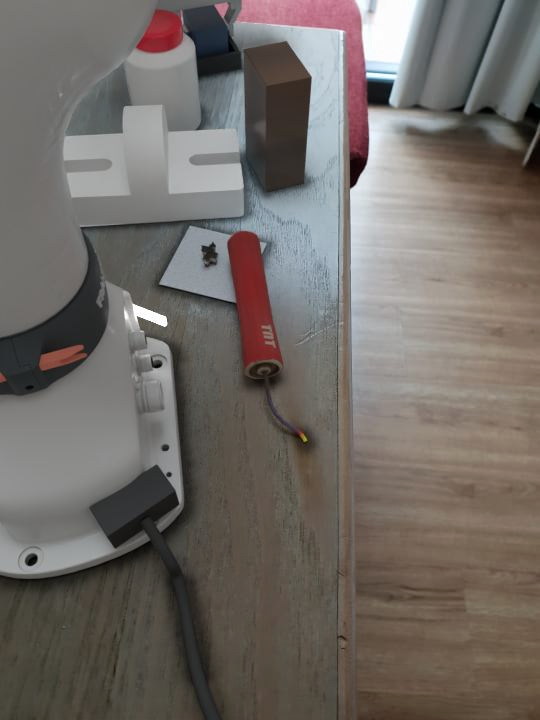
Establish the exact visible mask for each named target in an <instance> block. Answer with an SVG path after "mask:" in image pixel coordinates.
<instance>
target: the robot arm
mask: <svg viewBox="0 0 540 720" xmlns="http://www.w3.org/2000/svg"><path fill="white" fill-rule="evenodd" d="M242 1H243V0H0V576H2V577H7V578H13V579H23V580H30V579H31V580H35V579H46V578H53V577H59V576H63V575H68V574H71V573H76V572H79V571H82V570H85V569H88V568H91V567H96V566H98V565H101V564H103V563H106V562H108V561H111V560H113V559H117V558H118V557H121V556H123V555H125V554H127V553H131V552H132V551H134V550H135V549H138V548H139V547H141V546H143V545H144V544H146V543H148V542H151V543H152V546H153V547H154V549H155V550H156V552H157V554H158V556H159V557H160V559H161V561H162V562H163V565H164V566H165V568H166V570H167V571H168V574H169V577H170V580H171V583H172V587H173V590H174V594H175V599H176V603H177V606H178V607H177V608H178V611H179V617H180V623H181V624H180V625H181V632H182V638H183V644H184V649H185V654H186V660H187V666H188V669H189V673H190V677H191V681H192V684H193V688H194V691H195V694H196V697H197V699H198V702H199V705H200V708H201V710H202V713H203V715H204V718H205V720H223V719H222V717H221V715H220V713H219V711H218V708H217V705H216V703H215V701H214V698H213V695H212V692H211V690H210V686H209V684H208V681H207V678H206V674H205V670H204V667H203V664H202V660H201V654H200V650H199V646H198V640H197V634H196V628H195V624H194V619H193V614H192V607H191V602H190V597H189V591H188V588H187V585H186V581H185V578H184V574H183V572H182V571H183V570H182V568H181V566H180V564H179V563H178V561H177V559H176V556H175V555H174V553H173V552H172V550H171V548H170V546H169V544H168V543H167V541H166V540H165V538H164V537H163V534H162V532H163V531H165V529H167V528H168V527H169V526H170V525H171V524H172V523H173V522H174V521H175V520H176V519H177V518H178V516H180V514H181V513H182V511H183V509H184V507H185V489H184V476H183V475H184V474H183V465H182V454H181V453H182V452H181V441H180V440H181V439H180V430H179V418H178V405H177V393H176V383H175V382H176V381H175V380H176V379H175V369H174V368H175V367H174V359H173V358H174V357H173V353H172V351H171V348H170V346H169V345H168V344H167V343H166V342H164V341H162V340H160V339H157V338H153V337H148V336H147V334H146V331H145V330H141V326H140V322H139V320H138V317H139V318H143V319H145V320H147V321H151V322H153V323H156V324H157V325H160V326H163V327H166V326H167V325H168V321H167V317H166V316H165V315H161V314H159V313H157V312H153V311H152V310H148V309H147V308H144V307H141V306H138V305H136V304H134V303H133V300H132V297H131V294H130V292H129V291H127V290H125V289H124V288H122V287H120V286H117V285H115V284H114V283H112V282H110V281H108V280H107V279H106V278H105V274H104V269H103V265H102V263H101V259H100V258H99V254H98V253H97V251H96V249H95V248H94V246H93V243H92V241H91V239H90V238H89V236H88V235H87V234H86V232H85V231H84V229H82V227H80V225H79V222H78V219H77V216H76V212H75V209H74V205H73V201H72V197H71V193H70V189H69V184H68V180H67V175H66V171H65V165H64V156H63V148H64V139H65V137H66V133H67V130H68V127H69V124H70V121H71V118H72V117H73V115H74V112H75V111H76V109H77V107H78V106H79V104H80V103H81V101H82V100H83V98H85V96H86V95H87V93H89V92H90V91H91V90H92V88H94V86H95V85H97V84H98V83H99V82H100V81H101V80H103V79H104V78H106V77H107V76H108V75H109V74H111V73H112V72H113V71H115V70H116V69H118V68H119V67H120V66H121V65H122V64H123V62H124V61H125V60H126V58H127V57H128V56H129V55H130V54H131V53H132V51H133V50H134V49H135V47H136V46H137V44H138V43H139V42H140V40H141V39H142V37H143V35H144V33H145V32H146V30H147V28H148V26H149V24H150V22H151V20H152V17H153V15H154V12H155V10H156V9H160V10H167V11H171V12H173V13H175V14H177V15H178V16H179V17H180V18H181V19H182V10H186V9H192V8H198V7H204V6H210V5H214V6H216V5H220V4H221V5H222V4H227V5H228V7H227V9H226V11H225V13H224V16H223V17H222V19H223V20H224V22H225V23H226V25H227V27H228V37H232V38H233V37H234V36H235V31H234V30H235V29H234V25H235V23H236V21H237V19H238V17H239V15H240V13H241V11H242V9H243V2H242ZM182 28H183V32H184V33H185V34H186V35H188V36H189V37H190V38H192V34H191V30H190V28H189V26H188V24H182ZM156 366H160V367H158V368H157V367H156ZM155 367H156V368H155ZM34 557H37V560H36V562H35V564H33V565H29V563H30V561H31V559H32V558H34Z"/></svg>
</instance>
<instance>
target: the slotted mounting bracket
mask: <svg viewBox="0 0 540 720" xmlns="http://www.w3.org/2000/svg"><path fill="white" fill-rule="evenodd" d="M239 146H240V145H239V138H238V131H237V130H236V129H235V128H219V129H216V128H215V129H199V130H197V129H196V130H195V131H176V132H168V127H167V120H166V114H165V109H164V106H163V105H142V106H131V105H124V107H123V111H122V132H121V133H101V134H83V135H82V134H81V135H65V139H64V148H63V156H64V165H65V171H66V175H67V180H68V184H69V189H70V193H71V197H72V201H73V205H74V209H75V212H76V216H77V219H78V222H79V225H80V228H85V227H87V228H88V227H102V226H103V227H104V226H115V225H133V224H148V223H149V224H151V223H165V222H167V223H168V222H179V221H180V222H181V221H195V220H197V221H198V220H213V219H225V218H226V219H228V218H229V219H230V218H241V217H243V216H244V215H245V189H244V187H245V186H244V178H243V177H244V176H243V169H242V163H241V160H240V147H239Z"/></svg>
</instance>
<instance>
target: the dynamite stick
mask: <svg viewBox="0 0 540 720" xmlns="http://www.w3.org/2000/svg"><path fill="white" fill-rule="evenodd" d="M230 235H231V236H230V237H229V239H228V241H227V248H228V254H229V260H230V265H231V271H232V277H233V284H234V290H235V296H236V302H237V303H236V309H237V315H238V321H239V327H240V338H241V339H240V340H241V349H242V350H241V351H242V360H243V371H244V375H245V376H246V377H247V378H250V379H253V380H261V379H262V380H264V387H265V395H266V399H267V405H268V406H269V408H270V410H271V412H272V414H273V416H274V417H275V418H276V419H277V420H278V422H280V423H281V424H282V425H284V426H285V427H287V428H288V429H290V430H291V431H293V432H295V433H296V434H298V436H299V437H300V438H301V440H302V442H303V443H307V442H308V439H307V437H306V436H305V434H304V433H303V431H301V430H300V429H299V428H297V427H296V426H294V425H293V424H291V423H289V422H288V421H286V420H285V419H284V418H283V417H282V416H281V415H280V413H279V412H278V411H277V409H276V407H275V405H274V403H273V400H272V395H271V389H270V381H269V379H270V378H272V377H274V376H276V375H278V374H280V373H281V372H282V371H283V369H284V360H283V356H282V352H281V351H282V350H281V347H280V344H279V339H278V335H277V332H276V331H277V330H276V327H275V323H274V318H273V312H272V307H271V301H270V295H269V288H268V284H267V278H266V272H265V266H264V260H263V259H264V258H263V253H261V246H260V242H261V240H260V238H259V235H258V234H256V233H255V232H253V231H250V230H239V231H236V232H234V233H232V234H230Z"/></svg>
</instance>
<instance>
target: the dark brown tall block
mask: <svg viewBox="0 0 540 720" xmlns="http://www.w3.org/2000/svg"><path fill="white" fill-rule="evenodd" d="M242 50H243V93H244V94H243V95H244V98H243V99H244V100H243V101H244V138H245V139H244V140H245V157H246V158H247V160H248V162H249V164H250V166H251V168H252V170H253V171H254V174H255V175H256V177H257V180H258V181H259V183H260V184H261V187H262V189H263V190H264V193H267V192H272V191H276V190H281V189H284V188H289V187H292V186H298V185H301V184H304V183H305V174H306V173H305V172H306V163H307V162H306V161H307V160H306V159H307V148H308V147H307V146H308V135H309V120H310V119H309V118H310V108H311V107H310V106H311V93H312V83H313V82H312V81H313V76H312V75H311V74H310V71H308V69H307V68H306V66H305V65H304V63H303V62H302V60H301V59H300V58H299V57H298V55H297V53H296V52H295V51H294V49H293V48H292V47H291V45H290V44H289V42H288V41H287V40H284V41H279V42H274V43H267V44H262V45H257V46H252V47H246V48H243V49H242Z"/></svg>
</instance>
